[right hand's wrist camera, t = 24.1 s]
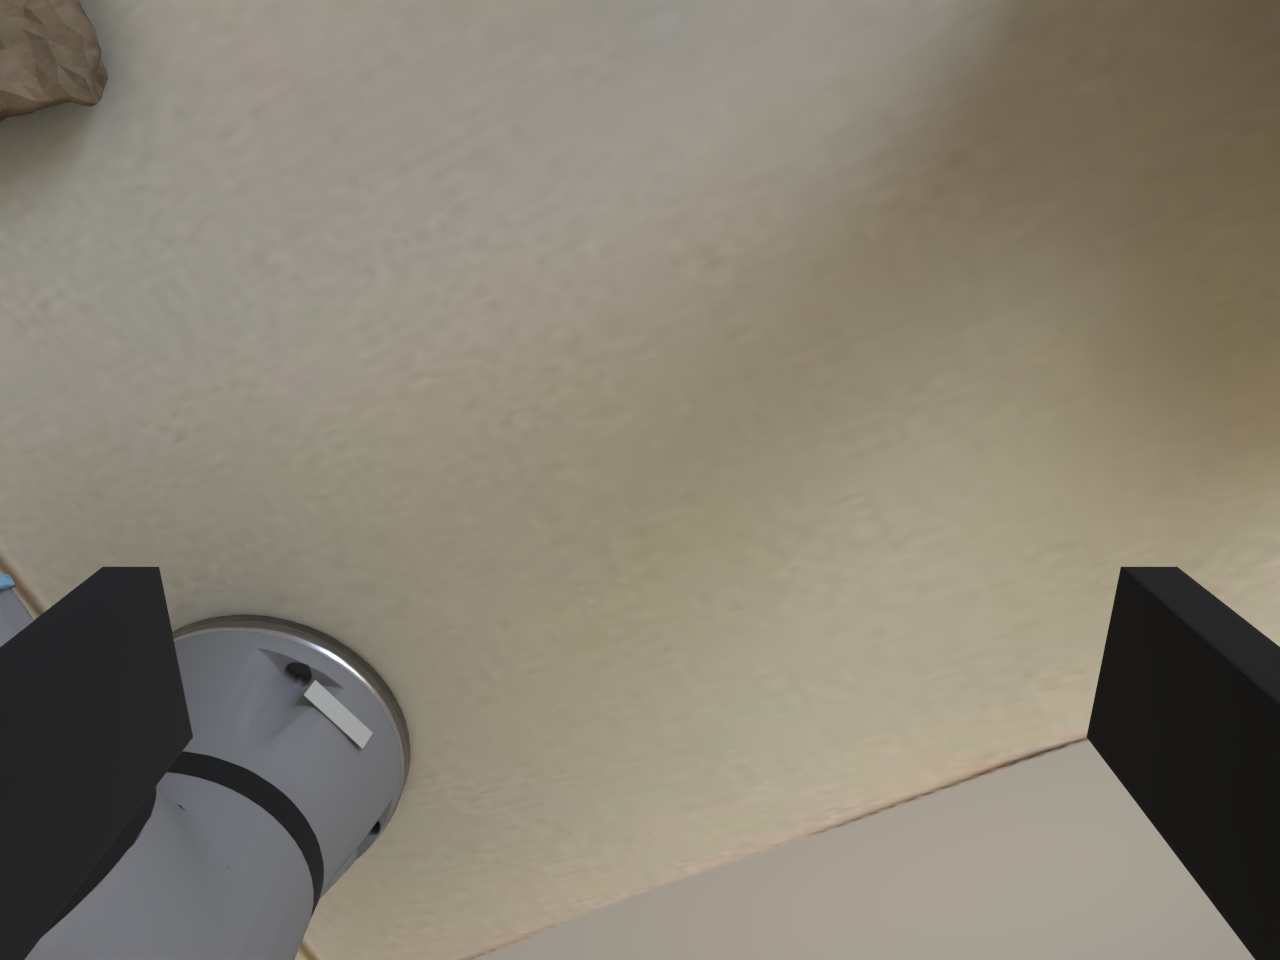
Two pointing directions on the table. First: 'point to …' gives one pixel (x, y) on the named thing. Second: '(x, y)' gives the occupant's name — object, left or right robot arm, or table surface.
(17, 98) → the stone
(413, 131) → the table surface
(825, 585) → the table surface
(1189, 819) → the right robot arm
